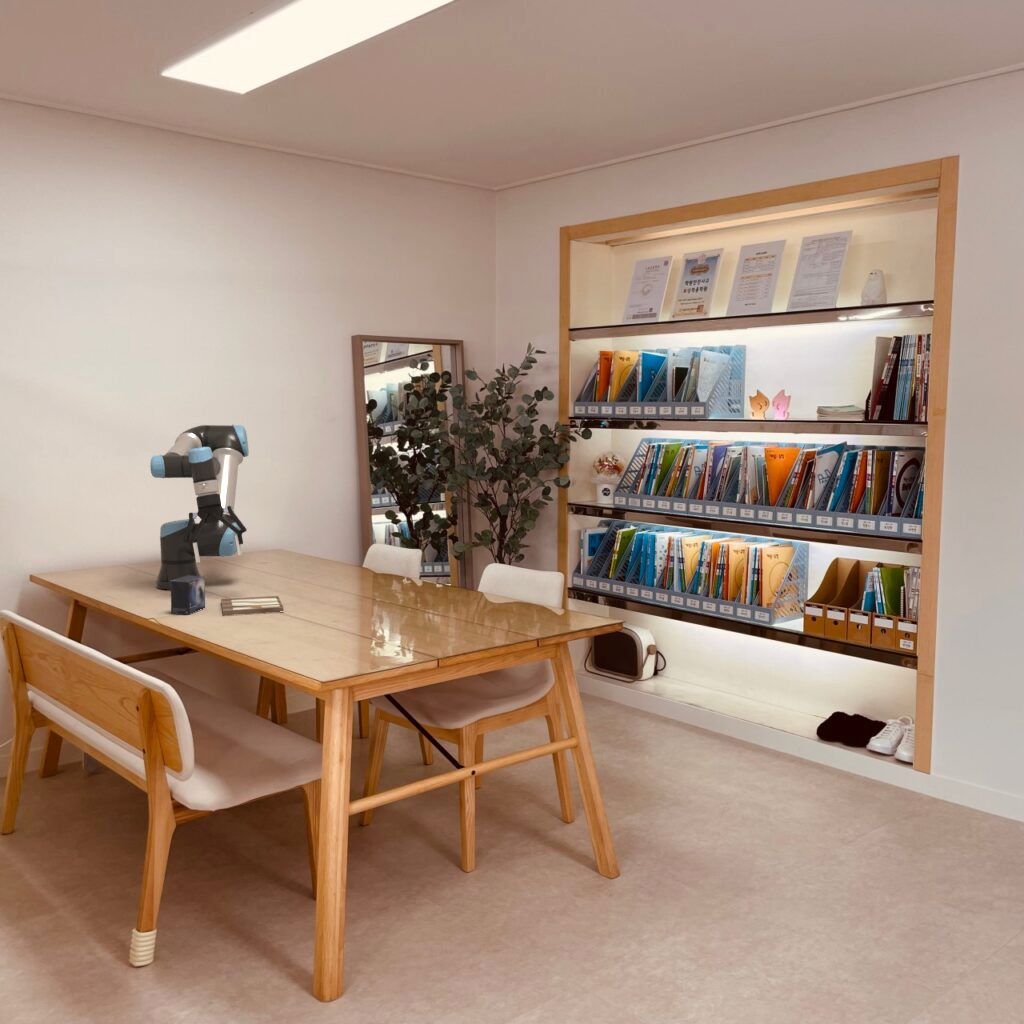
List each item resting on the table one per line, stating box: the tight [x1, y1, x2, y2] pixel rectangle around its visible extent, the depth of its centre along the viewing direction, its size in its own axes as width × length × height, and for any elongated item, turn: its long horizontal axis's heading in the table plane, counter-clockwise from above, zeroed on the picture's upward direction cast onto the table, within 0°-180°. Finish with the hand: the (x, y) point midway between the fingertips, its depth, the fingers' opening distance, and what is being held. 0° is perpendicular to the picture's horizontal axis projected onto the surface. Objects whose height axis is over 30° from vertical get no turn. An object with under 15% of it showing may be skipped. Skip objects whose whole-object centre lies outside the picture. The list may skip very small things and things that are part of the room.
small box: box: [170, 575, 206, 615], centre depth 325 cm, size 11×6×10 cm, turn 168°
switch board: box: [220, 595, 284, 616], centre depth 331 cm, size 20×18×2 cm
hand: (219, 558), depth 342 cm, fingers open, 13 cm apart
